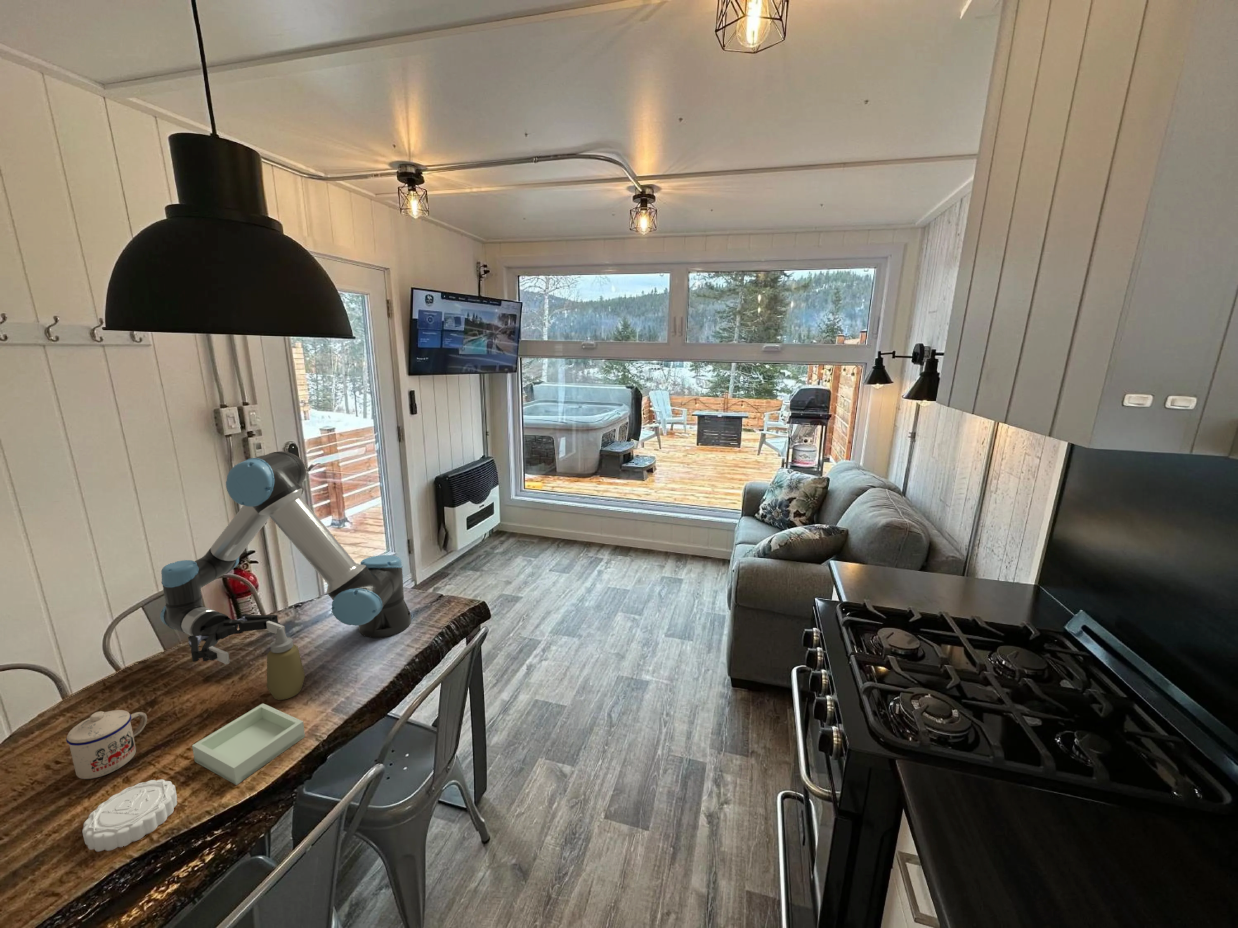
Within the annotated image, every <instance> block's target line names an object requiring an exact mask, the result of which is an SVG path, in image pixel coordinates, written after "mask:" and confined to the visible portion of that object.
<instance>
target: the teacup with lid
mask: <svg viewBox="0 0 1238 928" xmlns="http://www.w3.org/2000/svg"><path fill="white" fill-rule="evenodd" d="M137 717H140V722H139V724H138V726H137V728H136V729H135V730H133V727H132V723H131V721H133V719H135V718H137ZM147 721H148V716H147V714H146V713H145V712H142V711H136V712H133V713H132V714H130V713H129V711H127V710H123V709H116V710H115V709H114V710H108V711H99V710H98V711H96V712H94V713H92V714H91V715H90V716H89V717H88V718H86V719H85V720H82V721H81V722H79V723H78V724H76V725H75V726H73V727H72V729H70V730H69V732H68V733H67V736H66V743H67V744H68V746H69V750H70V753H71V758H72V759H71V760H72V762H73V768H74V771H75V775H76V777H77V778H79V779H82V780H92V779H97V778H100V777H103V776H106V775H109V774H111V773H113V772H115V771H117V770H119V769H120V768H122V767H124V766H125V765H126V764H128V763H129V762H131V760H132V759H133V758H134V756H135V754H136V752H137V747H136V742H135V737H136V736H138V735H139V734H140V733H141V732H143V731H144V729H145V726H146V725H147Z"/></svg>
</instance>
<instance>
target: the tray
mask: <svg viewBox="0 0 1238 928" xmlns="http://www.w3.org/2000/svg"><path fill="white" fill-rule="evenodd" d="M305 737H306V733H305V725H304V721H303V720H301V719H299V718H296V717H294V716H293V715H291V714H288V713H286V712H283V711H281V710H280V709H279V710H278V709H277V708H274V707H272V706H270V705H268V704H265V703H261V704H259V705H257V706H256V707H254V708H251V710H249V711H248V712H246V713H244V714H242V715H241V716H239V717H237V718H236V719H234V720H232V721H231V722H229V723H227V724H225V725H223V726H222V727H221V728H219V729H218V730H217V729H216V730H215V731H214V732H212V733H210V734H209V735H207V736H205V737H204V738H201V739H200V740H198V741H196V743H193V744H192V745H191V747H192V753H193V760H194V762H195V763H197V764H198V765H199V766H201V767H203V768H205V769H207V770H209V771H211V772H212V773H214V774H215V775H218V776H219V777H222V778H223V779H224V780H226V781H228V782H230V783H232V784H234V785H236V786H237V785H239V784H240V783H242V782H244V781H245V780H247V778H249V777H250V776H252V775H253V774H254V773H256V772H257V771H259V770H260V769H262V768H263V767H264V766H266V765H268V764H269V763H271V761H273V760H274V759H276V758H277V757H278V756H280V755H282V754H283V753H284V752H286V751H287V750H289V749H290V748H291V747H293V746H295V744H296V743H298V742H300V741H301V740H303V739H304V738H305Z"/></svg>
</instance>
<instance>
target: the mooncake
mask: <svg viewBox="0 0 1238 928" xmlns="http://www.w3.org/2000/svg"><path fill="white" fill-rule="evenodd" d="M177 804H178V796H177V790H176V785H174V784H173V783H172V781H171V780H165V779H162V778H161V779H157V780H155V779H150V780H148V781H145V782H139V783H136V784H135V785H133V786H128V787H126V788H124V789H122V790H121V791H120V792H119V793H115V794H113V795H111V796H110V797H108V799H107V800H106V801H103V802H102V803H100V804H99V805H98V806H97V807H96V809H94V810H93V811H91V812H90V814H88V818H87V819H86V820H85V821H84V822H83V828H82V836H83V840H84V844H85V845H86V846H87V848H88V850H95V852H102V851H104V850H105V851H106V852H107V851H108V852H109V851H113V850H116V849H117V848H123V846H124V847H126V846H128V845H130V844H131V843H132V842H137V841H139V840H141V839H142V838H144V837H145V835H149V834H150V833H153V832H154V831H156V829H157V828H158V826H160V825H162V824H164V823H165V822H166V821H167V819H168V817H169V816H171V815H172V814H173V813H174V810H175V809H174V808H175V807H176V806H177Z"/></svg>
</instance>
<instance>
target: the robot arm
mask: <svg viewBox="0 0 1238 928" xmlns="http://www.w3.org/2000/svg"><path fill="white" fill-rule="evenodd" d="M306 468H307V467H306V464H305V463H304V461H303V460H302V459H301V458H300V457H299V456H297V455H296V454H294V453H291V452H289V451H273V452H269V453H267V454H263V455H261V456H255V457H251V458H247V459H246V460H243V461H241V462H238V463H237V464H235V465H234V466H233V467H231V468H230V470H229V471H228V473H227V476H226V481H225V488H226V492H227V494H228V495H229V497H230V498H231V500H233V501H234V502H235V503H236V504H238V505H240V506H241V508H240V509H239V510H238V512H237V513H236V514H235V515H234V516H233V518H232V519H231V521H230V522H229V523H228V525H227V526H226V527H225V528H224V529H223V531H222V532H221V533H220V534H219V536H218V537H217V539H216V540H215V541H214V543H213V544H212V545H211V547H210V548H209V549H208V551H207V552H206V553H205V554H204V555H203V556H202V557H200V558H198V559H196V560H191V559H184V560H178V561H175V562H170V563H168V564H165V566H163V567H162V569H161V571H160V572H161V581H160V582H161V585H162V590H163V596H164V601H165V605H164V606H163V607H162V610H161V612H160V614H159V617H160V621H161V622H162V624H164V625H166V626H167V627H169V628H170V629H172V630H176V631H179V632H181V633H183V634H186V635H189V636H187V637H188V638H187V639H188V644H189V648H190V649H191V650H190V652H191V653H190V654H191V659H192V660H191V661H192V662H193V663H196V662H198V661H199V660H200V659H202V661H203V662H207V661H214V660H215V661H218V662H219V663H220V662H221V663H223V664H225V665H228V664H229V663H230V662H231V661H230V655H229V652H227V651H225V650H223V649H220V648H218V647H216V645H217V644H218V642H219V641H220V640H224V639H226V638H228V637H230V636H233V635H238V634H243V633H244V632H251V631H252V632H253V631H261V630H266V631H267V632H269V633H273V634H275V635H276V633H277V629H278V628H283V630H284V632H285V633H286V627H285V626H284V625H282V624H281V623H280V622H279V618H278V615H276V614H248V613H243V614H241V616H240V617H241V618H238V619H235V618H234V619H231V618H230V617H229V616H228V615H227V614H225V613H222V612H219V611H217V610H214V609H211V608H209V607H206V606H204V605H203V596H202V588H203V587H205V586H208V585H209V584H210V583H213V582H214V581H215V580H217V579H219V578H220V577H222V576H223V575H226V574H228V573H230V572H231V571H233V569H234V568H236V567H238V565H239V562H240V557H241V555H242V553H244V551H245V550H246V549H247V547H248V546H249V545H250V544H251V542H252V541H253V539H254V538H255V537H256V536H257V534H258V533H259V532H260V531H261V529H262V528H263V527H264V526H265V525H266V523H267V522H268V521H269V519H271V520H272V521H273V522H274V523H275V524H276V525H277V527H278V528H279V530H281V532H282V533H283V534H284V535H285V536H286V538H287V539H288V540H289V541H290V543H292V545H294V547H295V548H296V549H297V550H298V552H300V554H301V555H302V556H303V557H304V558H305V560H306V561H307V562H308V563H309V564H310V565H311V566H312V567H313V569H314V570H315V571H316V572H317V574H318V575H319V576H320V577H321V578H322V580H324V582H326V584H327V588H326V594H327V595H328V596H329V598H331V599H332V602H331V612H332V614H333V616H334V618H336V620H338V621H339V622H341V623H342V624H344V625H347V626H356V627H357V626H358V632H359V633H360V635H361V636H364V637H366V638H373V639H374V638H375V639H376V638H385V637H390V636H393V635H397V634H399V633H401V632H403V631H405V630H406V629H407V628H408V627H409V626H410V625H411V624H412V623H411V622H412V615H411V614H412V613H411V611H410V609H409V607H408V605H407V603H406V601H405V596H404V595H405V594H404V593H405V592H404V579H403V578H404V575H403V574H404V573H403V563H402V559H401V558H400V557H399V556H396V555H392V554H391V555H389V554H385V555H384V554H383V555H382V554H381V555H373V556H369V557H366V558H364V559H362V560H361V561H360V564H358V563H356V562H355V561H354V558H352V557H351V556H350V554H349V553H348V552H347V551H346V550H345V548H344V547H343V546H342V545H341V544H340V542H339V541H338V540H337V539H336V538H335V536H334V535H333V534H332V533H331V532H330V530H329V529H328V527H327V526H326V525H325V524H324V523H323V522H322V520H321V519H320V518H319V517H318V516H317V515H316V514H315V512H314V511H313V510H312V509H311V508H310V506H309V505H308V504H307V502H306V501H305V500H304V499H303V498H302V493H303V488H302V487H301V485H302V484H303V482H304V481H305V479H306V475H307V469H306ZM201 641H202V642H204V644H203V645H202V647H201V650H200V648H199V646H200V643H201Z"/></svg>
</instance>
